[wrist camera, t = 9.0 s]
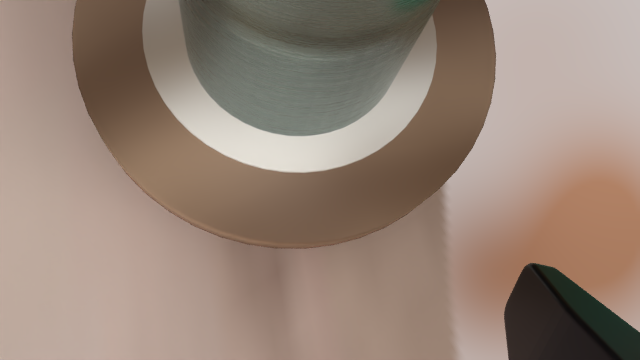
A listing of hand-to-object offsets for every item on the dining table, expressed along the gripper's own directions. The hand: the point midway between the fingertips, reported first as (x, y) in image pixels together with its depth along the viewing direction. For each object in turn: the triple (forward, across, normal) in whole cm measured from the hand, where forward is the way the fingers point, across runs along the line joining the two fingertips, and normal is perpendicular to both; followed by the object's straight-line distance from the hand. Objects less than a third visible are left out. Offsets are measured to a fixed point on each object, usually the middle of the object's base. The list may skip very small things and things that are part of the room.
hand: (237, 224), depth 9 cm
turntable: (+12, 0, +1) cm, 12 cm away
